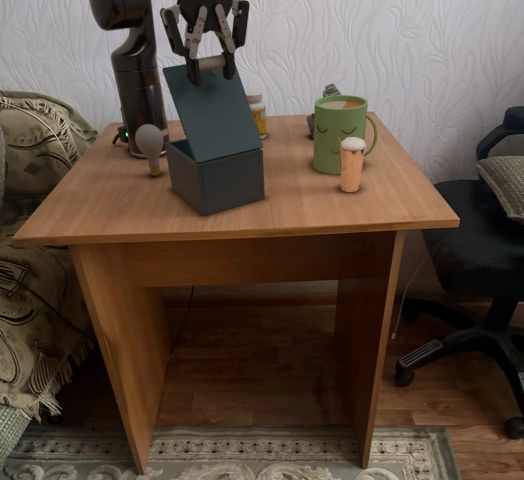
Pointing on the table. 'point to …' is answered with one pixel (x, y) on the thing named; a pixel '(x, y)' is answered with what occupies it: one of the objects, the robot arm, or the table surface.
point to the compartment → (215, 178)
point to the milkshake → (351, 162)
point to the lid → (213, 111)
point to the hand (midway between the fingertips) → (212, 81)
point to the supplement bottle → (258, 111)
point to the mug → (338, 129)
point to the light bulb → (150, 145)
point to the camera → (329, 91)
